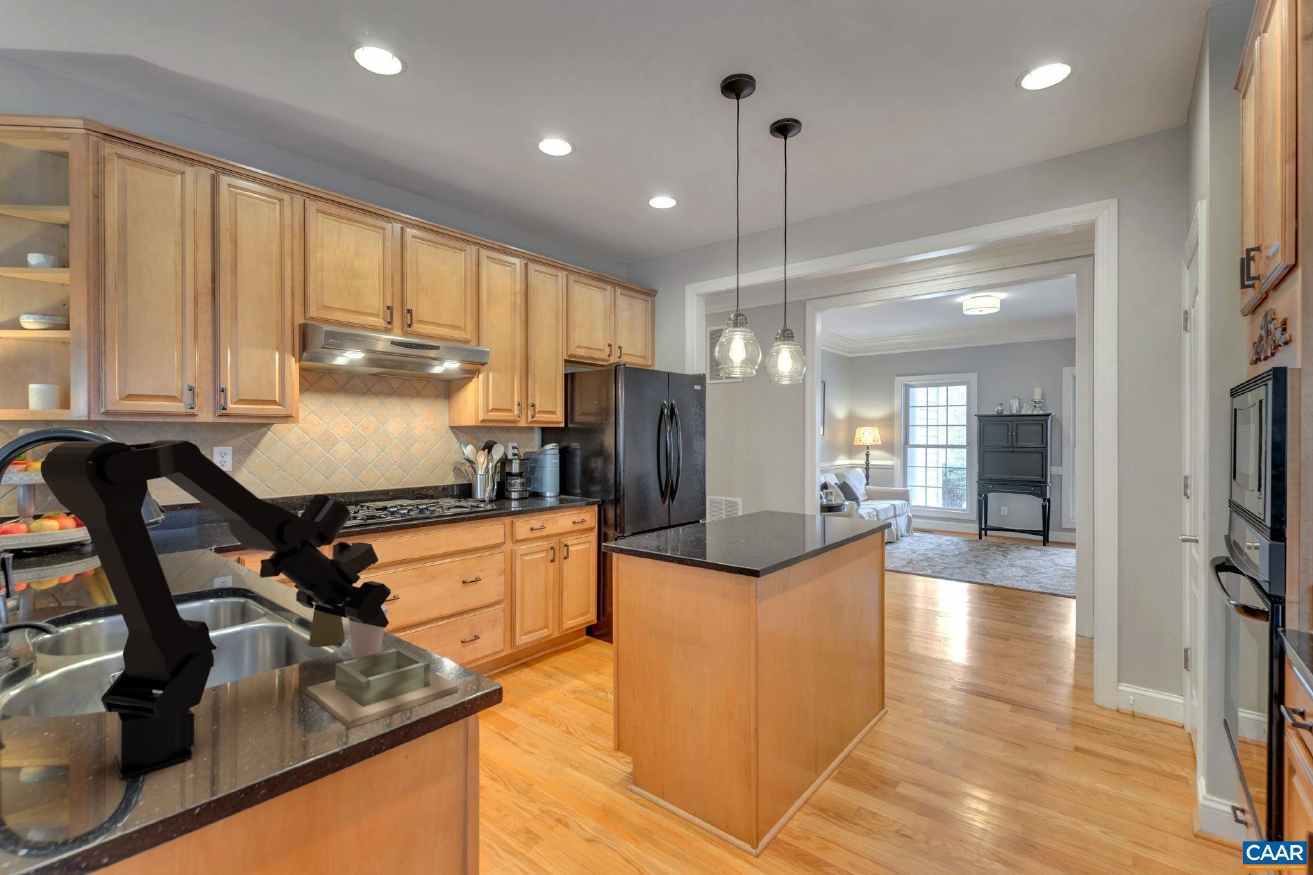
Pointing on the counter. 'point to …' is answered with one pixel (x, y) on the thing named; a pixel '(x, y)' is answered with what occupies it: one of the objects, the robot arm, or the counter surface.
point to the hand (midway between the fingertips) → (374, 621)
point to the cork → (326, 630)
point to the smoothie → (366, 637)
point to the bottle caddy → (379, 687)
